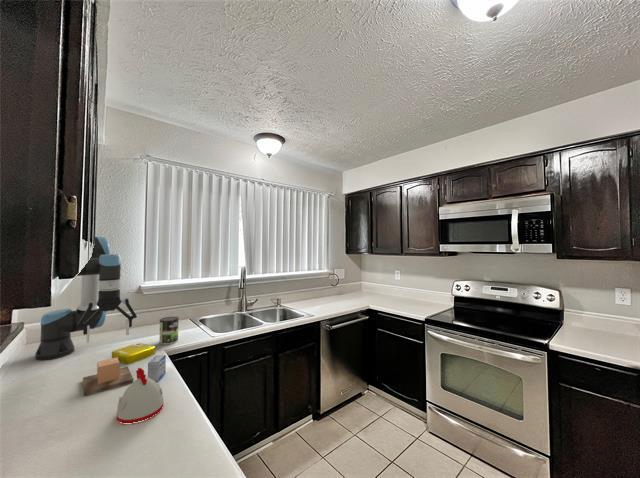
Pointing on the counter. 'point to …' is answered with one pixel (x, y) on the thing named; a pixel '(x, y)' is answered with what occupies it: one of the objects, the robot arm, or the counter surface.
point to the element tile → (133, 353)
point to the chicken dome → (140, 400)
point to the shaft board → (93, 387)
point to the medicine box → (157, 367)
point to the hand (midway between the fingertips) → (108, 338)
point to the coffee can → (168, 330)
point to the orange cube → (107, 370)
